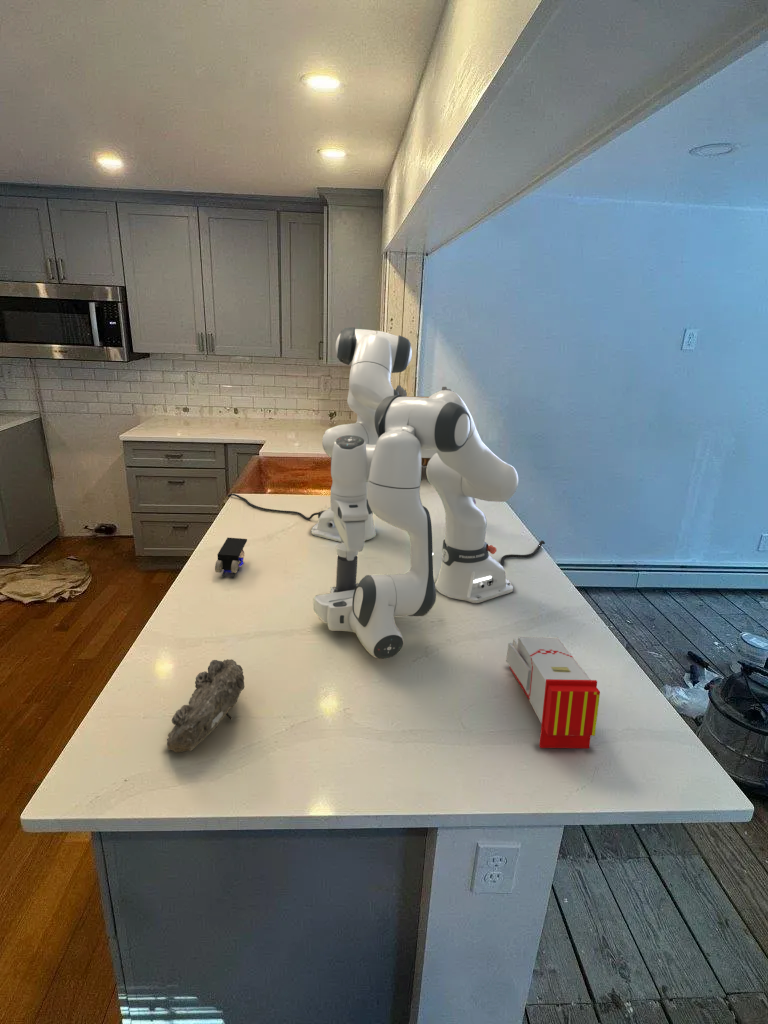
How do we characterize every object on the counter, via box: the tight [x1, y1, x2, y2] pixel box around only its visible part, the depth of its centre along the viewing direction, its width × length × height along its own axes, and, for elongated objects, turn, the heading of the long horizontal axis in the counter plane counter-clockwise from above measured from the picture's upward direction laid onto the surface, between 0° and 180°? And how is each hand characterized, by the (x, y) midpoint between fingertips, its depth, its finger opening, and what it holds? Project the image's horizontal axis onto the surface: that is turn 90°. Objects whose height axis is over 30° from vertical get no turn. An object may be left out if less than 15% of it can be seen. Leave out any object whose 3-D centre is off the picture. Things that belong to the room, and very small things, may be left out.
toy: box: [505, 636, 601, 749], centre depth 115 cm, size 12×13×30 cm
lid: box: [335, 542, 359, 558], centre depth 144 cm, size 6×6×2 cm
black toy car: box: [214, 537, 248, 578], centre depth 166 cm, size 7×8×15 cm
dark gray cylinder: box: [335, 555, 358, 592], centre depth 147 cm, size 5×5×16 cm
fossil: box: [166, 658, 245, 754], centre depth 106 cm, size 22×10×15 cm
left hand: (347, 553), depth 144 cm, fingers closed on lid, 5 cm apart
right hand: (344, 587), depth 148 cm, fingers closed on dark gray cylinder, 5 cm apart
